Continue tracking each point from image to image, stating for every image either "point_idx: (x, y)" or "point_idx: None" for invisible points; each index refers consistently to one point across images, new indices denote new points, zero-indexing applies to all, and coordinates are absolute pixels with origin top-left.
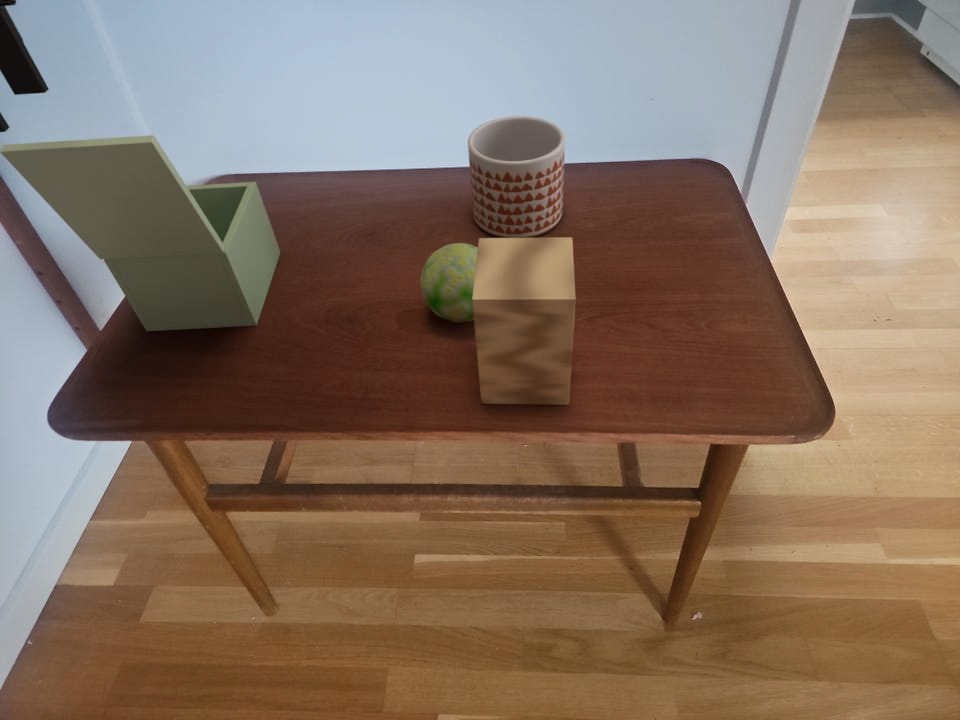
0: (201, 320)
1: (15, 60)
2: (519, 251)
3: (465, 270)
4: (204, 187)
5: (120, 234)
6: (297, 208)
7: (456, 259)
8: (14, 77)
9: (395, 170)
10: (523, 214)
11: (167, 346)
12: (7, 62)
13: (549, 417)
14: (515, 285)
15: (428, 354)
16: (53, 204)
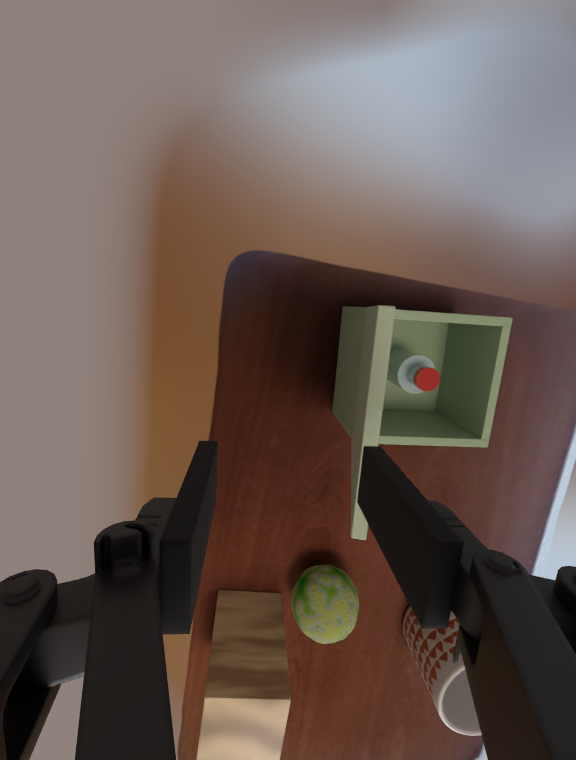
0: (339, 366)
1: (380, 519)
2: (265, 729)
3: (311, 632)
4: (492, 389)
5: (362, 359)
6: (509, 421)
7: (322, 630)
8: (371, 480)
9: (548, 512)
10: (412, 647)
11: (318, 333)
12: (381, 499)
13: (201, 630)
14: (218, 727)
15: (274, 552)
16: (370, 313)
